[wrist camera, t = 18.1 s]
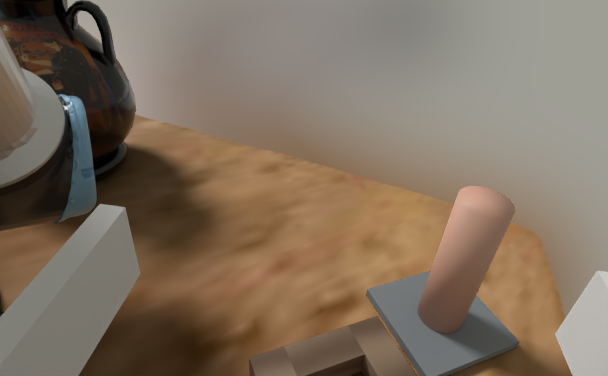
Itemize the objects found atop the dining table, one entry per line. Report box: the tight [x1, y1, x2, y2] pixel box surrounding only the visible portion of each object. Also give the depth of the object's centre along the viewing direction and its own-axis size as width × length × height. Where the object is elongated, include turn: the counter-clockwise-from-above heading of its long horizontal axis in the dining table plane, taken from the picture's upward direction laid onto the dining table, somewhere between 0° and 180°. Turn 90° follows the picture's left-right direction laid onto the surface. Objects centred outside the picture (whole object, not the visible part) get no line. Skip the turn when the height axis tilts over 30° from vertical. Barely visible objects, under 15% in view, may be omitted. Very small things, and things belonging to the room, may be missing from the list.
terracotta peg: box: [418, 186, 515, 334], centre depth 43 cm, size 5×5×16 cm
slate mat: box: [366, 271, 519, 376], centre depth 48 cm, size 12×12×1 cm
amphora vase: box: [0, 0, 136, 180], centre depth 62 cm, size 22×22×28 cm
